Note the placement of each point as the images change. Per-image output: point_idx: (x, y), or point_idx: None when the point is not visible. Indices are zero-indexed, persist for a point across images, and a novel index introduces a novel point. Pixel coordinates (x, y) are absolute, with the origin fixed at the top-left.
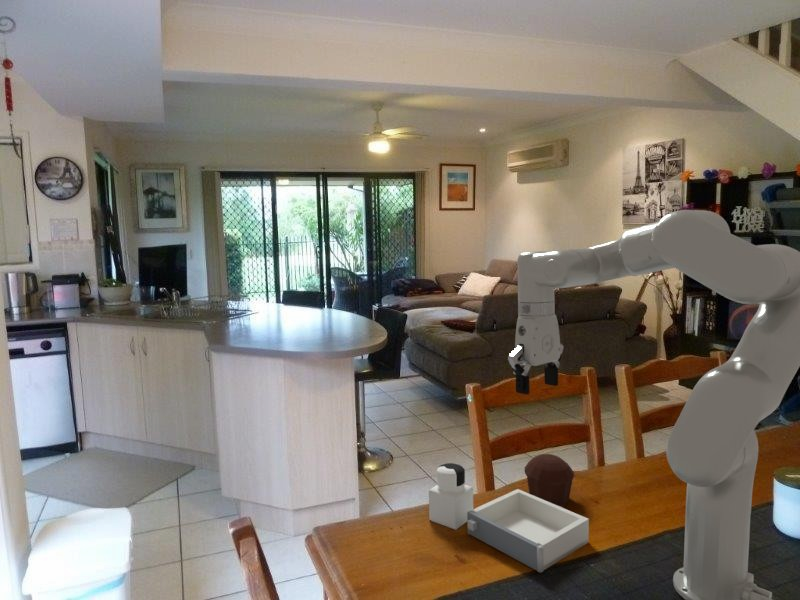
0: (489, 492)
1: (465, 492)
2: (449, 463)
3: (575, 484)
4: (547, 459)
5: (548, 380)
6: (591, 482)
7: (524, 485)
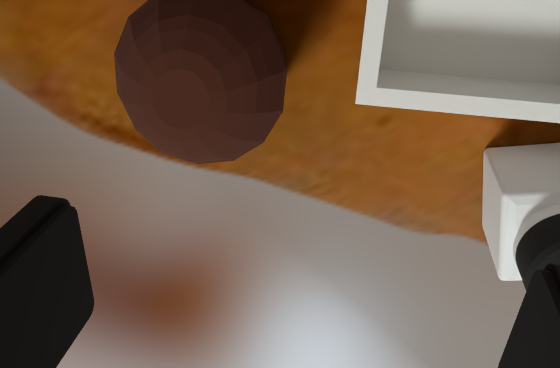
0: (321, 196)
1: (557, 190)
2: None
3: (87, 45)
4: (201, 93)
5: (68, 300)
6: (36, 15)
7: None
